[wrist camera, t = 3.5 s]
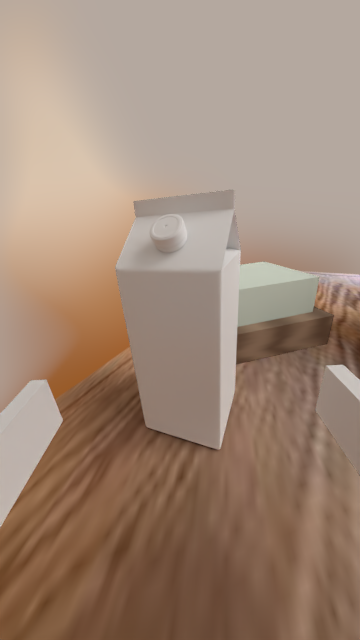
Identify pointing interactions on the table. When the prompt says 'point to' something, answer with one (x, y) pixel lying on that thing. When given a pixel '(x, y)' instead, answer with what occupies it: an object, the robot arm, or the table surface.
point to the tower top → (273, 292)
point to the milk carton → (183, 311)
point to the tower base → (283, 335)
